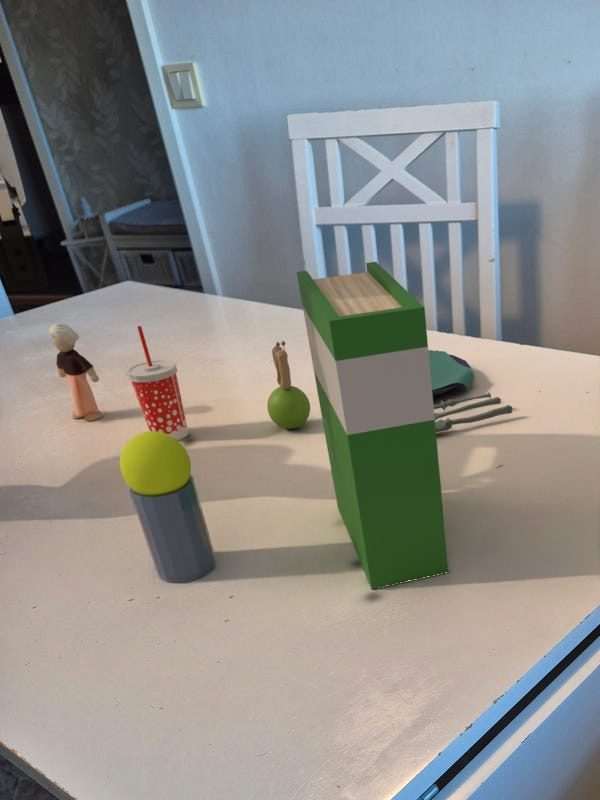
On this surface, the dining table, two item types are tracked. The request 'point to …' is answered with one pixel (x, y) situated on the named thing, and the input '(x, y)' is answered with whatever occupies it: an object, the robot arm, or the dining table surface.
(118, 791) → the dining table surface
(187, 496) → the cup
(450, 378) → the cutlery set
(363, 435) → the hardback book
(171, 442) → the ball
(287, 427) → the snail figurine
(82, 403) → the grandmother figurine
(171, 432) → the beverage cup
